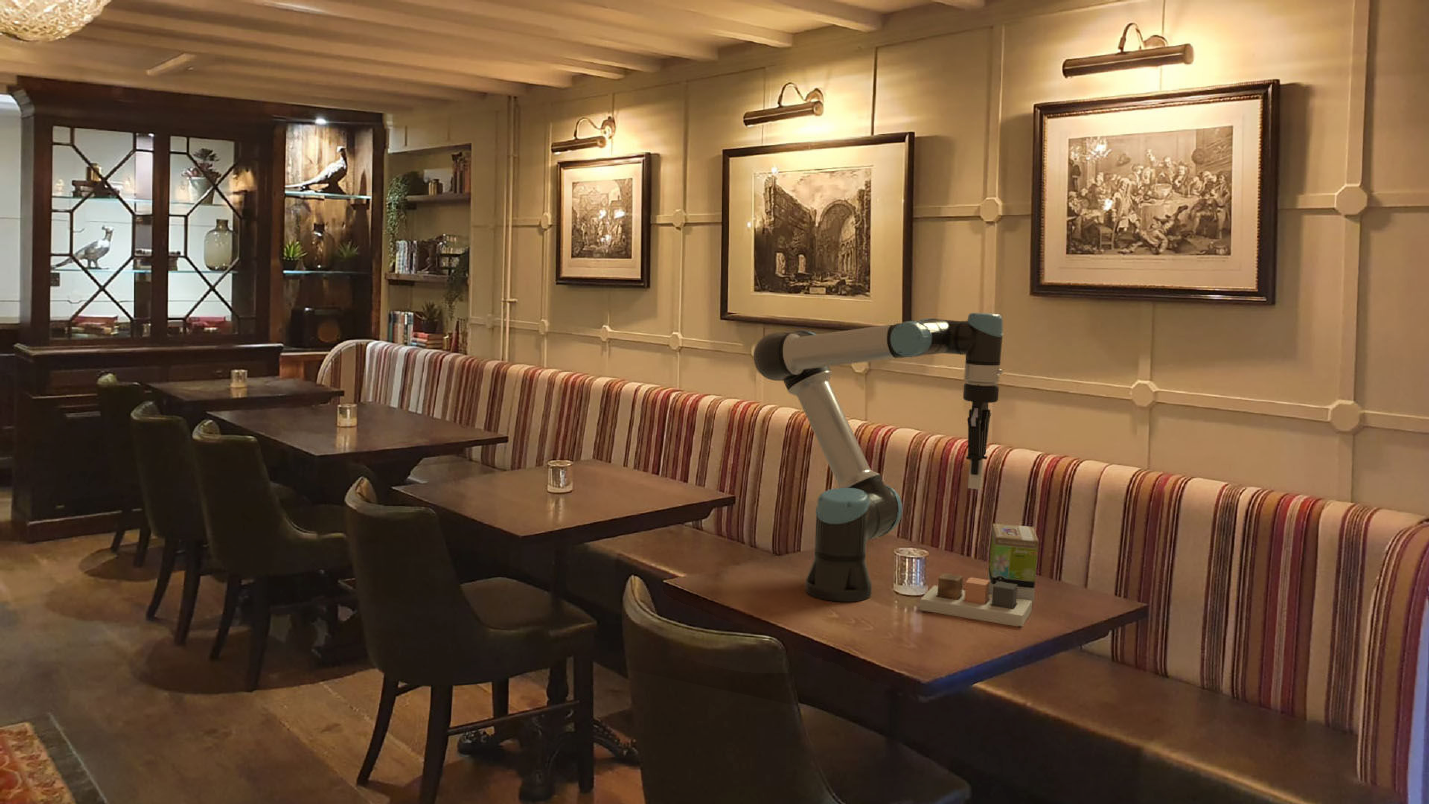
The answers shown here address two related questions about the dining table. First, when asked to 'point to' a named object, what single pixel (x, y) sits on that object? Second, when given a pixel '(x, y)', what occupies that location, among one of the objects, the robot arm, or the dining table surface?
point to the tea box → (1014, 558)
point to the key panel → (976, 609)
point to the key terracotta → (977, 590)
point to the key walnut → (950, 586)
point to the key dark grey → (1004, 595)
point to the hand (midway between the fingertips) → (974, 488)
